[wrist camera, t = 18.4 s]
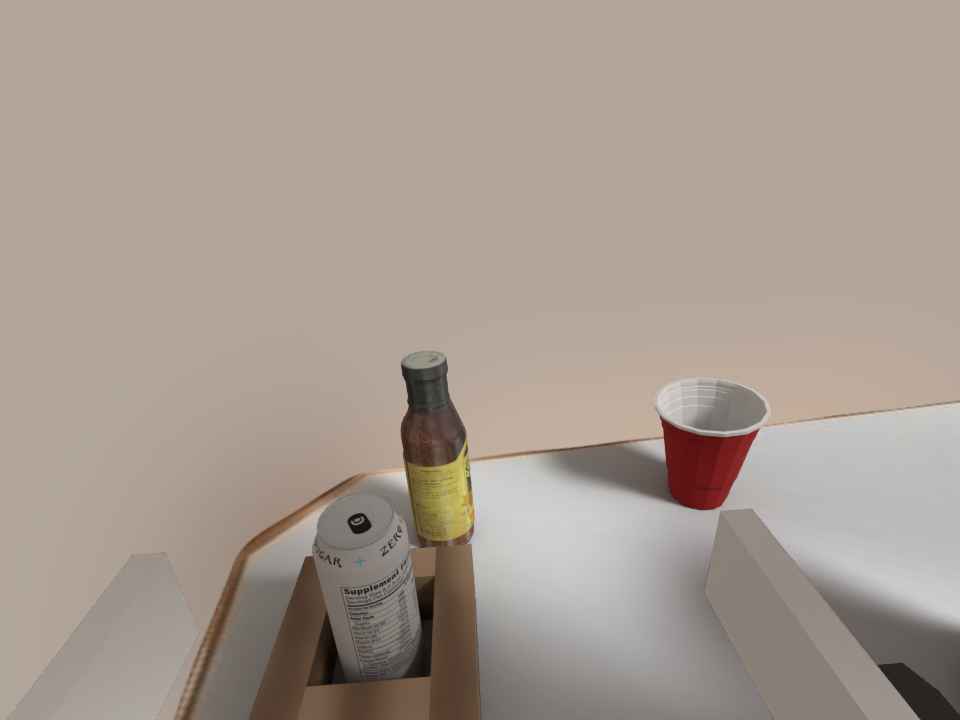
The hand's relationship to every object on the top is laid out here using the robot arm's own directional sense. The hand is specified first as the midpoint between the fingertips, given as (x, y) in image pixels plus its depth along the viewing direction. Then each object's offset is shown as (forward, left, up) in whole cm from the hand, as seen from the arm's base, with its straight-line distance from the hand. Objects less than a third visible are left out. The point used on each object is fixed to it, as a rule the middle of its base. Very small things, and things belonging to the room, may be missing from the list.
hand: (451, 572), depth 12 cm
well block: (+7, -16, -28) cm, 33 cm away
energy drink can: (+7, -16, -27) cm, 32 cm away
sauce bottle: (+3, -31, -28) cm, 42 cm away
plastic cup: (-25, -34, -28) cm, 51 cm away
